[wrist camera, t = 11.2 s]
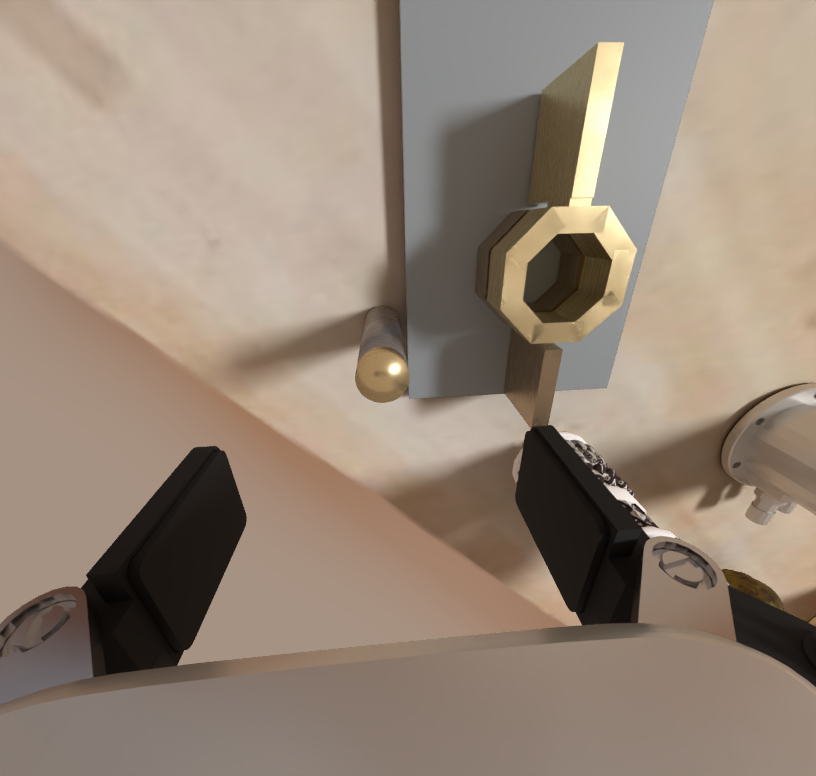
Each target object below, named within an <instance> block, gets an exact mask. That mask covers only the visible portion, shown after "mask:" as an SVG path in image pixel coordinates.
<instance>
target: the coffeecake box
mask: <svg viewBox="0 0 816 776" xmlns="http://www.w3.org/2000/svg"><path fill="white" fill-rule="evenodd" d="M808 623H810V624H812V625H814V626H816V616H815V617H814V618H813V619H812V620H810V621H809V622H808Z"/></svg>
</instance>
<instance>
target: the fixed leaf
mask: <svg viewBox="0 0 816 776" xmlns="http://www.w3.org/2000/svg"><path fill="white" fill-rule="evenodd" d="M529 210H530V209H527V210H519V211H512V212H511V213H510V214H509V215H508V216H507V217H506V218H505V219H504V220H503V221H502V222H501V223H500V224H499V225H498V226H497V227H496V228H495V229H494V231H493V232H492V233H491V234H490V235H489V236H488V237H487V238H486V239H485V240H484V241H483V242H482V243H481V244H480V245H479V246H478V249H477V264H476V279H475V293H476V294H477V295H478V296H479V297H480V298H481V300H482V301H483V302H484V303H485V304H486V305H487V306H488V307H489V308H490V309H491V310H492V311H493V312H494V314H495V315H496V316H497V317H498V318H499V319H500V320H501V321H502V322H504V323H505V324H506V325H508V326H509V327H510V328H511V326H510V325H509V324H508V323H507V322H506V321H505V320H504V319H503V318H502V317H501V316H500V315H499V313H498V312H497V311H496V310H495V309H494V308H493V307H492V306H491V305H490V304H489V303H488V301H487V293H488V281H489V269H490V257H491V250H492V249H493V248H494V247H495V246H496V245H497V244H498V243H499V242H500V240H501V239H502V238H503V237H504V236H505V235H506V234H507V233H508V232H509V231H510V230H511V229H512V228H513V227H514V226H515V225H516V224H517V223H518V222H519V221H520V220H521V219H522V218H523V217H524V216H525V215H526V214H527V213H528V211H529ZM552 241H553V243H554V244H555V246H556V247H557V248H558V250H559V251H560V252H561V255H560V261H559V267H558V273H557V279H556V282H555V283H554V284H553V285H552V286H551V287H550V288H549V289H548V290H547V291H546V292H545V293H544V294H542V295H541V296H540V297H539V298H538V299H537V300H536V301H535V302H525V303H526V304H527V306H528V307H529V308H530V309H531V310H532V311H533V312H554V311H555V310H556V309H557V308H558V307H559V306H561V305H562V304H563V303H564V302H565V301H566V300H567V299H568V298H569V297H570V296H572V295H573V294H574V293H575V292H576V291H577V290H578V289H579V285H580V280H581V275H582V270H583V265H584V260H585V256H584V254H583V253H582V251H581V250H580V248H579V247H578V246H577V244H576V243H575V241H574V240H573V239H572V237H571V236H570V234H569V233H566V234H557V235H556V236H555V237H554V238H553V239H552ZM562 352H563V349H561V348H560V347H558V346H557V345H555V344H554V343H540V344H531V343H529V342H528V341H527V340H525V339H524V338H523V337H522V336H520V335H519V334H518V333H516V332H515V331H514V330H513V329H512V328H511V332H510V341H509V349H508V357H507V365H506V374H505V382H504V390H503V392H504V393H505V395H506V396H507V397H508V399H509V400H510V401H511V403H512V404H513V405H514V407H515V408H516V409H517V411H518V412H519V413H520V415H521V416H522V417H523V419H524V420H525V421H526V423H527V424H528V425H529V427H530V428H532V427H533V426H546V425H548V423H549V418H550V413H551V407H552V402H553V397H554V392H555V387H556V382H557V377H558V372H559V367H560V362H561V357H562Z"/></svg>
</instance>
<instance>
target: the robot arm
mask: <svg viewBox="0 0 816 776" xmlns="http://www.w3.org/2000/svg"><path fill="white" fill-rule="evenodd" d="M721 461H722V466H723V468H724V470H725V472H726V473H727V474H728V475H729V476H731V477H732V478H733V479H735V480H736V481H738V482H739V483H742V484H744V485H748V486H755V487H756V489H755V490H754V493H755V495H756V498H755V500H754V501H752V503H751V504H750V506H749V508H748V509H747V511H746V513H745V515H746V517H747V518H748V519H749V520H751V521H753V522H755V523H757V524H760V525H767V524H769V522H770V521H771V519H772V518H773V516H774V515H775V513H776V509H777V510H779V511H780V512H783V513H787V514H790V513H791V512H792V511H793V509H794V508H795V507H796V505H797V503H798V504H799V505H801V506H802V507H804V508H805V509H807V510H808V511H810V512H811V513H813V514H814V515H816V383H809V384H804V385H798V386H795V387H792V388H788V389H785V390H783V391H781V392H778V393H776V394H774V395H772V396H770V397H769V398H767V399H765V400H764V401H762V402H760V403H759V404H758V405H756V406H755V407H754V408H752V409H751V410H750V411H749V412H748V413H746V414H745V415H744V416H743V417H742V418H741V419H740V420H739V421H738V423H737V424H736V425H735V426H734V428H733V429H732V430H731V432H730V433H729V435H728V437H727V438H726V441H725V443H724V446H723V448H722V455H721ZM515 498H516V503H517V506H518V508H519V510H520V512H521V514H522V516H523V518H524V520H525V522H526V524H527V526H528V528H529V530H530V532H531V534H532V537H533V539H534V541H535V543H536V545H537V547H538V549H539V551H540V553H541V555H542V557H543V559H544V561H545V563H546V565H547V567H548V569H549V571H550V573H551V575H552V577H553V579H554V581H555V583H556V585H557V587H558V589H559V591H560V593H561V595H562V597H563V599H564V601H565V603H566V605H567V607H568V608H569V610H570V611H572V612H576V614H577V616H578V618H579V620H580V622H581V624H582V626H569V627H556V628H543V629H533V630H522V631H511V632H501V633H490V634H479V635H469V636H458V637H448V638H437V639H427V640H418V641H408V642H397V643H387V644H378V645H367V646H358V647H348V648H338V649H328V650H318V651H309V652H299V653H291V654H281V655H271V656H262V657H252V658H243V659H233V660H224V661H214V662H205V663H196V664H188V665H181V666H177V664H178V662H179V660H180V658H181V656H182V654H183V651H184V650H187V649H189V648H190V647H191V645H192V644H193V642H194V640H195V637H196V635H197V633H198V631H199V629H200V626H201V624H202V622H203V620H204V617H205V615H206V613H207V611H208V608H209V606H210V604H211V602H212V599H213V597H214V595H215V593H216V591H217V588H218V586H219V584H220V582H221V579H222V577H223V575H224V573H225V571H226V568H227V566H228V564H229V562H230V559H231V557H232V555H233V553H234V551H235V548H236V546H237V544H238V542H239V539H240V537H241V535H242V532H243V530H244V528H245V526H246V513H245V510H244V507H243V504H242V501H241V498H240V495H239V492H238V489H237V486H236V483H235V480H234V477H233V474H232V471H231V468H230V465H229V462H228V459H227V456H226V453H225V452H224V451H220V449H219V448H218V447H216V446H209V447H196V448H193V449H192V450H191V451H190V453H189V454H188V455H187V456H186V457H185V459H184V460H183V461H182V462H181V463H180V464H179V466H178V467H177V468H176V469H175V470H174V472H173V473H172V474H171V475H170V477H169V478H168V479H167V480H166V481H165V482H164V483H163V485H162V486H161V487H160V488H159V489H158V490H157V492H156V493H155V494H154V495H153V496H152V498H151V499H150V500H149V501H148V502H147V504H146V505H145V506H144V507H143V508H142V509H141V511H140V512H139V513H138V514H137V515H136V517H135V518H134V519H133V520H132V522H131V523H130V524H129V525H128V526H127V527H126V528H125V530H124V531H123V532H122V533H121V534H120V535H119V537H118V538H117V539H116V540H115V541H114V543H113V544H112V545H111V546H110V547H109V549H108V550H107V551H106V552H105V553H104V554H103V556H102V557H101V558H100V559H99V560H98V562H97V563H96V564H95V565H94V566H93V567H92V569H91V570H90V571H89V572H88V573H87V575H86V576H87V578H88V580H87V581H86V583H85V584H84V585H83V586H82V587H81V588H78V587H62V588H58V589H54V590H52V591H49V592H47V593H45V594H43V595H40V596H38V597H36V598H35V599H33V600H31V601H29V602H28V603H26V604H24V605H22V606H21V607H20V608H19V609H17V610H16V611H14V612H13V613H12V614H11V615H9V616H8V617H7V618H6V619H5V620H4V621H3V622H2V623H1V624H0V776H816V626H814V625H812V624H810V623H808V622H805V621H803V620H801V619H799V618H797V617H795V616H793V615H791V614H788V613H786V612H784V611H782V610H780V609H778V608H776V607H774V606H771V605H769V604H767V603H765V602H763V601H761V600H759V599H757V598H754V597H752V596H750V595H748V594H746V593H744V592H742V591H740V590H737V589H735V588H733V587H731V586H729V585H727V581H726V578H725V576H724V573H723V572H722V570H721V569H720V568H719V566H718V565H717V564H716V563H715V562H714V561H713V560H712V559H711V558H710V557H709V556H708V555H707V554H705V553H704V552H702V551H701V550H699V549H698V548H696V547H695V546H693V545H691V544H689V543H686V542H684V541H682V540H679V539H676V538H672V537H666V536H657V537H652V538H650V537H649V536H648V535H647V534H646V533H645V532H644V530H643V529H642V527H641V526H640V525H639V524H638V523H637V522H636V521H635V519H634V518H633V517H632V516H631V515H630V514H629V513H628V511H627V510H626V509H625V508H624V507H623V506H622V505H621V503H620V502H619V501H618V500H617V499H616V498H615V497H614V495H613V494H612V493H611V492H610V491H609V490H608V488H607V487H606V486H605V485H604V484H603V483H602V482H601V480H600V479H599V478H598V477H597V476H596V475H595V474H594V472H593V471H592V470H591V469H590V468H589V467H588V466H587V464H586V463H585V462H584V461H583V460H582V459H581V458H580V456H579V455H578V454H577V453H576V452H575V451H574V450H573V448H572V447H571V446H570V445H569V444H568V443H567V442H566V440H565V439H564V438H563V437H562V436H561V435H560V433H559V432H558V431H557V430H556V429H555V428H554V427H553V426H551V425H546V426H533V427H532V428H531V430H530V431H527V432H526V434H525V440H524V446H523V452H522V458H521V464H520V470H519V476H518V482H517V488H516V494H515ZM592 624H596V625H592Z"/></svg>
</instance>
